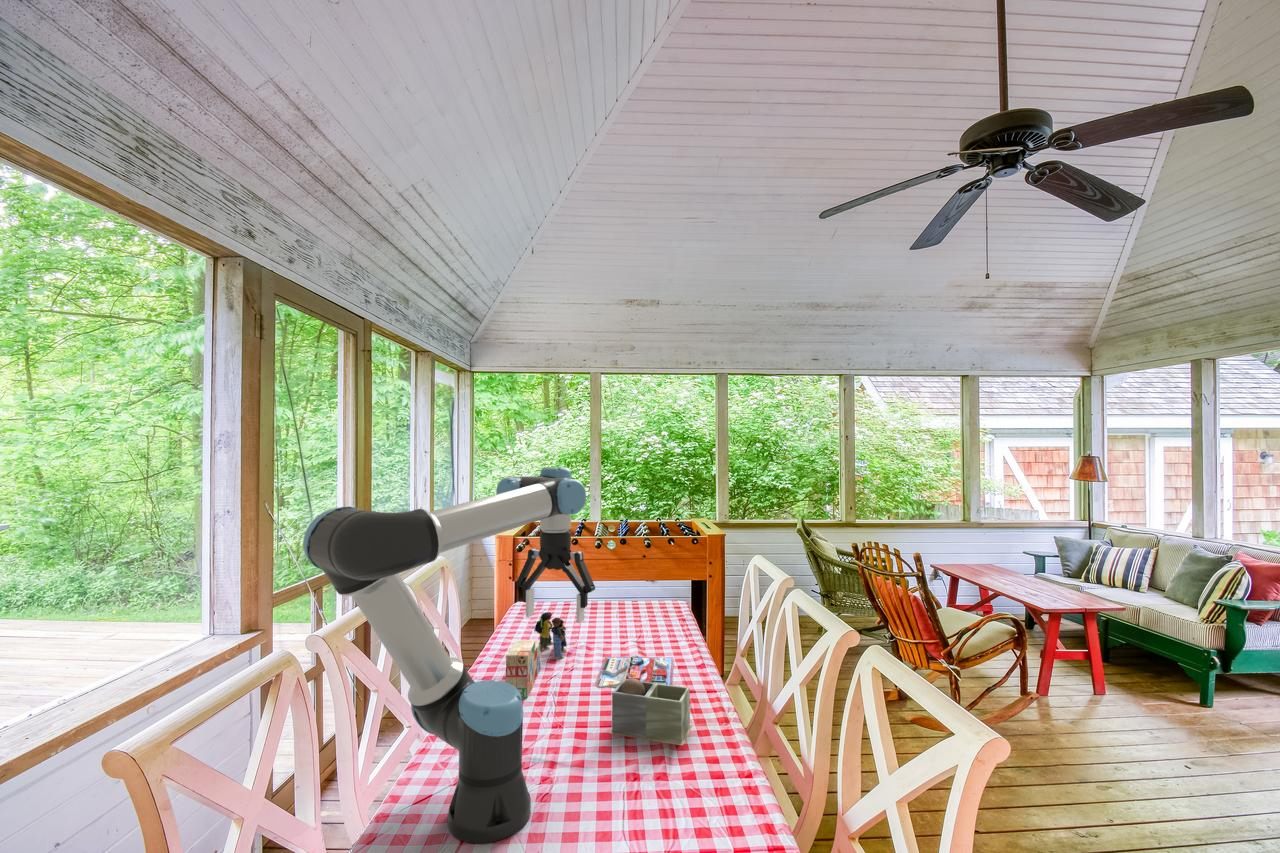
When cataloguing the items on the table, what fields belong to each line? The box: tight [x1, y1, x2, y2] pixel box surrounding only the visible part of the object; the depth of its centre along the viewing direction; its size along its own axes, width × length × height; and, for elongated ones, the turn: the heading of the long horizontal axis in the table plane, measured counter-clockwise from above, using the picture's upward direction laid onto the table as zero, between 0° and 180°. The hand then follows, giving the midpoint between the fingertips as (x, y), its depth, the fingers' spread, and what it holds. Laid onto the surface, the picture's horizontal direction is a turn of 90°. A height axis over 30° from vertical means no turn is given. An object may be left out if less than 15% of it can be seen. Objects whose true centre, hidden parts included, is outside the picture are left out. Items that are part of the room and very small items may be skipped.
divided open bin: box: [608, 679, 693, 747], centre depth 140 cm, size 10×18×10 cm, turn 72°
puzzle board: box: [593, 654, 674, 690], centre depth 174 cm, size 30×23×3 cm
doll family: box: [531, 611, 569, 660], centre depth 198 cm, size 23×9×13 cm, turn 42°
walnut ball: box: [621, 678, 645, 696], centre depth 141 cm, size 6×6×6 cm
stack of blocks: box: [505, 639, 541, 699], centre depth 170 cm, size 21×6×12 cm, turn 0°
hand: (554, 618), depth 138 cm, fingers open, 13 cm apart
